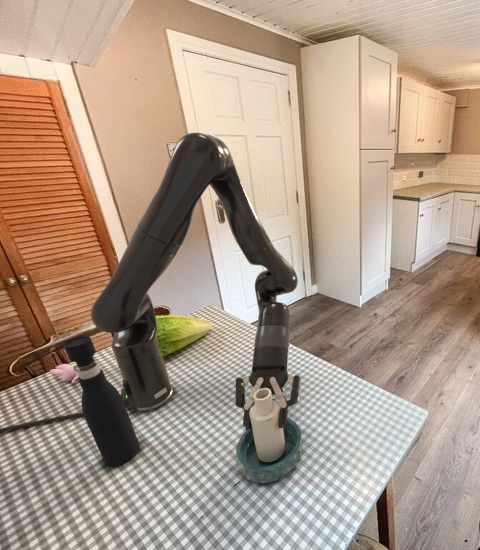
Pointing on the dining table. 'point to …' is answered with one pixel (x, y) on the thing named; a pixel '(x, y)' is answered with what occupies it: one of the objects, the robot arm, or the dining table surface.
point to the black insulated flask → (102, 406)
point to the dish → (275, 469)
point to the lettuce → (179, 331)
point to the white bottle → (266, 426)
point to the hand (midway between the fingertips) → (265, 428)
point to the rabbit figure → (66, 372)
